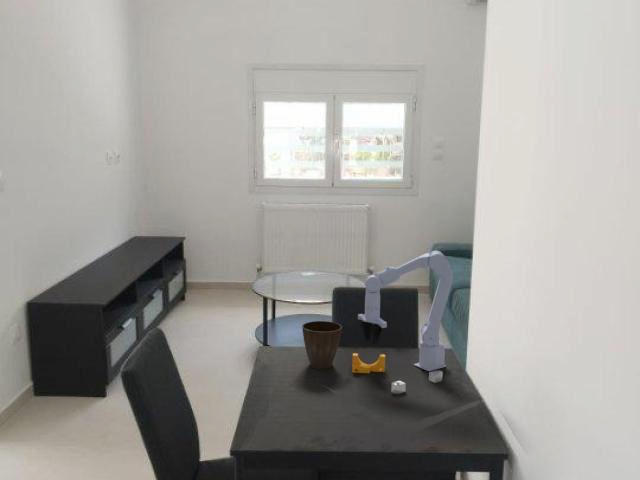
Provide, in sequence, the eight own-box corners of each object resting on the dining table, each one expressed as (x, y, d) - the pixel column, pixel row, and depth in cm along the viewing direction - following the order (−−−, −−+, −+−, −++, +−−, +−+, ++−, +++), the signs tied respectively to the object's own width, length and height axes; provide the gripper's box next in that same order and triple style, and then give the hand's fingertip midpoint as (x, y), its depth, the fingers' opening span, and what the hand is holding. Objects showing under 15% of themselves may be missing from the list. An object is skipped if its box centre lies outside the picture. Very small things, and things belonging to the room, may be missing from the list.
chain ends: (437, 377, 217) (438, 369, 217) (443, 380, 215) (444, 372, 214) (389, 391, 203) (389, 383, 203) (395, 394, 201) (395, 386, 200)
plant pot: (304, 359, 235) (305, 319, 232) (342, 361, 233) (343, 321, 230) (298, 372, 220) (299, 330, 218) (338, 375, 218) (339, 332, 216)
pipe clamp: (352, 373, 220) (352, 357, 219) (352, 369, 224) (352, 353, 223) (384, 375, 219) (385, 358, 218) (384, 371, 223) (385, 354, 223)
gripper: (352, 304, 229) (351, 338, 231) (377, 312, 218) (376, 348, 220) (366, 302, 233) (365, 335, 235) (391, 310, 222) (390, 345, 224)
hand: (371, 341), depth 228 cm, fingers open, 4 cm apart
